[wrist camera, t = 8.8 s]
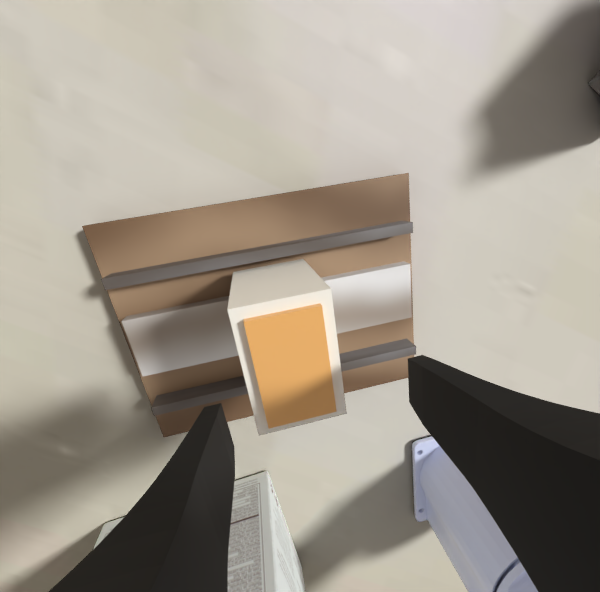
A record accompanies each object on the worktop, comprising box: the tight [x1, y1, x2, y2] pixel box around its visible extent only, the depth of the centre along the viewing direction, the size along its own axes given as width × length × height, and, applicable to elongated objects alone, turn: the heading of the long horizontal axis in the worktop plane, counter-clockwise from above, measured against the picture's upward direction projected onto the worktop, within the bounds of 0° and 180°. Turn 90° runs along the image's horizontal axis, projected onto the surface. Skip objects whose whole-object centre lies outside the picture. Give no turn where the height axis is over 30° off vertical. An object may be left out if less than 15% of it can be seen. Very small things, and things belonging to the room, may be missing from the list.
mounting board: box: [82, 173, 416, 437], centre depth 19 cm, size 14×18×2 cm
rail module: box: [227, 259, 347, 435], centre depth 15 cm, size 6×4×6 cm, turn 9°
